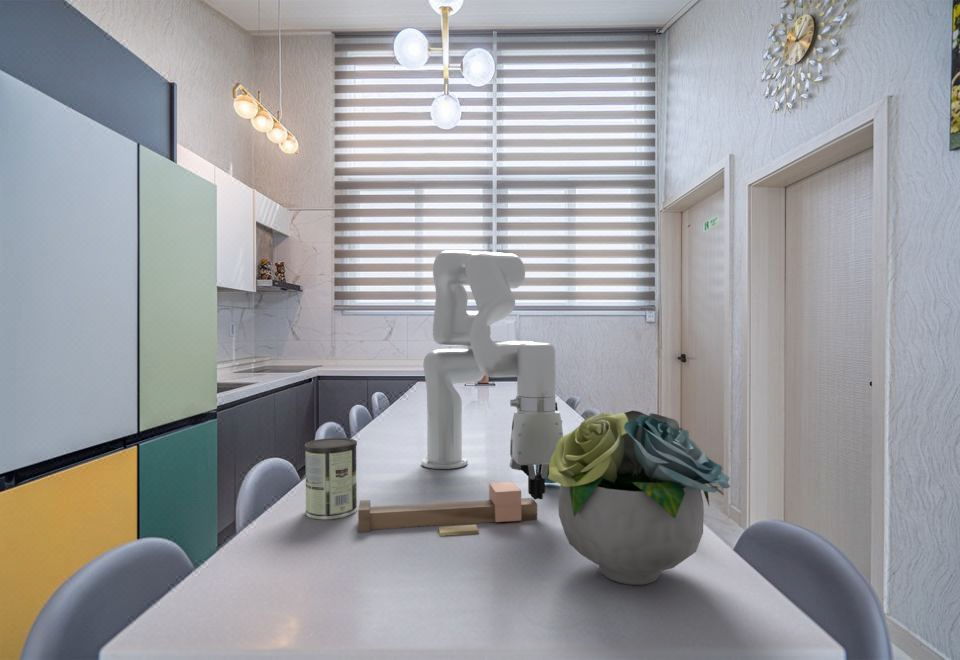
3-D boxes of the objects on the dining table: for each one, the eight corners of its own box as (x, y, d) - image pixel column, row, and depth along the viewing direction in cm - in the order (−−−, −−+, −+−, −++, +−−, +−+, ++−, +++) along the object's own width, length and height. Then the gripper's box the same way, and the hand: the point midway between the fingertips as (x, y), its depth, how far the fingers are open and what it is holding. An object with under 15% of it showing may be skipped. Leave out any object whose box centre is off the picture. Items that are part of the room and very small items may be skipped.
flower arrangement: (659, 537, 99) (659, 399, 99) (758, 604, 75) (757, 421, 75) (525, 549, 94) (524, 403, 94) (584, 625, 70) (583, 429, 70)
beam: (360, 513, 113) (360, 493, 113) (525, 504, 118) (525, 485, 118) (357, 541, 98) (357, 518, 98) (545, 529, 103) (545, 507, 103)
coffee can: (328, 501, 121) (327, 436, 121) (367, 507, 117) (367, 439, 117) (293, 515, 112) (293, 444, 112) (334, 523, 107) (334, 449, 107)
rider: (489, 511, 113) (489, 482, 113) (513, 509, 114) (513, 481, 114) (495, 522, 106) (495, 492, 106) (521, 520, 107) (521, 490, 107)
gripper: (503, 408, 106) (503, 505, 106) (578, 406, 109) (579, 501, 109) (495, 403, 113) (495, 494, 113) (566, 401, 116) (566, 490, 116)
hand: (536, 497), depth 111 cm, fingers closed
